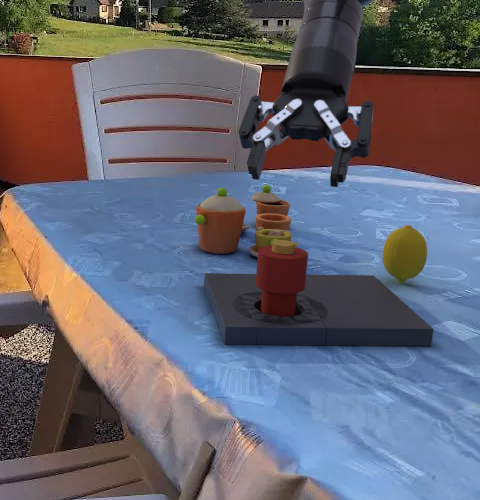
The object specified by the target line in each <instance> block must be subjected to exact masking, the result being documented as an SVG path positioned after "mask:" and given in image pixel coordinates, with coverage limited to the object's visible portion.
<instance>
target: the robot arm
mask: <svg viewBox="0 0 480 500" xmlns="http://www.w3.org/2000/svg"><path fill="white" fill-rule="evenodd" d="M374 1H375V0H303V16H302V19H301V23H300V26H299V30H298V34H297V36H296V39H295V41H294V43H293V45H292V48H291V51H290V56H289V60H288V64H287V67H286V71H285V75H284V78H283V82H282V86H281V89H280V93H279V96H278V97H277V99H276V100H275V101H274V102H273V101H263V100H262V98H261V96H260V95H253V96H251V97H250V98H249V102H248V105H247V107H246V110H245V113H244V115H243V118H242V121H241V124H240V126H239V129H238V135H239V136H238V137H239V140H240V145H241V148H242V149H244V150H249V154H248V158H247V162H246V166H247V171H248V174H249V175H251V179H252V180H257V181H259V180H260V179H261V175H262V172H263V168H264V163H265V160H266V157H267V154H266V153H267V152H268V151H269V150H270V149H272V148H273V147H274V146H280V145H281V144H282V143H283V142H285V141H286V140H287V139H288V138H290V140H294V141H295V140H296V141H301V140H307V141H311V142H320V140H322V139H324V141H325V142H326V143H327V145H328V146H329V147H330V149H331V150H333V151H334V156H333V159H332V164H331V165H332V166H331V170H330V176H329V182H330V188H338V187H339V184H341V183H342V184H343V183H344V182H345V181H346V179H347V175H348V170H349V165H350V161H351V159H353V158H355V157H359V158H362V159H364V158H365V159H366V158H367V157H368V156H369V155H370V150H371V149H370V148H371V141H372V131H373V123H374V122H373V121H374V102H372V101H371V100H365V101H363V102H361V105H359V106H358V105H348V103H347V102H348V97H349V92H350V88H351V84H352V80H353V75H354V74H355V73H354V72H355V69H356V61H357V55H358V53H357V52H358V51H357V49H358V40H359V36H360V31H361V27H362V22H363V17H364V16H363V13H364V11H363V8H365V7H367V6H369V5H371V4H372V3H373V2H374ZM269 115H273V116H271V117H270V118H269V119H268V120H267V122H266V124H265V125H264V126H263V127H262V128H261V129H259V125H260V123H263V122H265V119H266V118H267V117H268V116H269ZM348 119H351V120H352V122H353V123H352V124H353V125H354V126H356V128H358V133H357V138H356V139H350V138H349V137H348V135H347V133H346V132H345V131H344V129H343V126H342V125H343V124H345V122H346V121H348ZM280 128H281V129H280ZM258 129H259V130H258Z"/></svg>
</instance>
